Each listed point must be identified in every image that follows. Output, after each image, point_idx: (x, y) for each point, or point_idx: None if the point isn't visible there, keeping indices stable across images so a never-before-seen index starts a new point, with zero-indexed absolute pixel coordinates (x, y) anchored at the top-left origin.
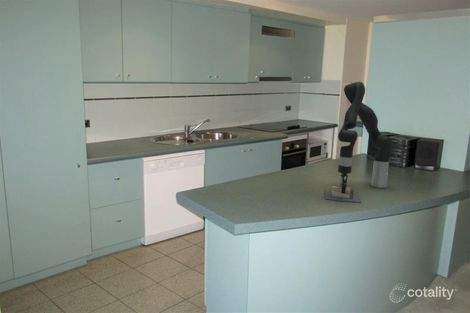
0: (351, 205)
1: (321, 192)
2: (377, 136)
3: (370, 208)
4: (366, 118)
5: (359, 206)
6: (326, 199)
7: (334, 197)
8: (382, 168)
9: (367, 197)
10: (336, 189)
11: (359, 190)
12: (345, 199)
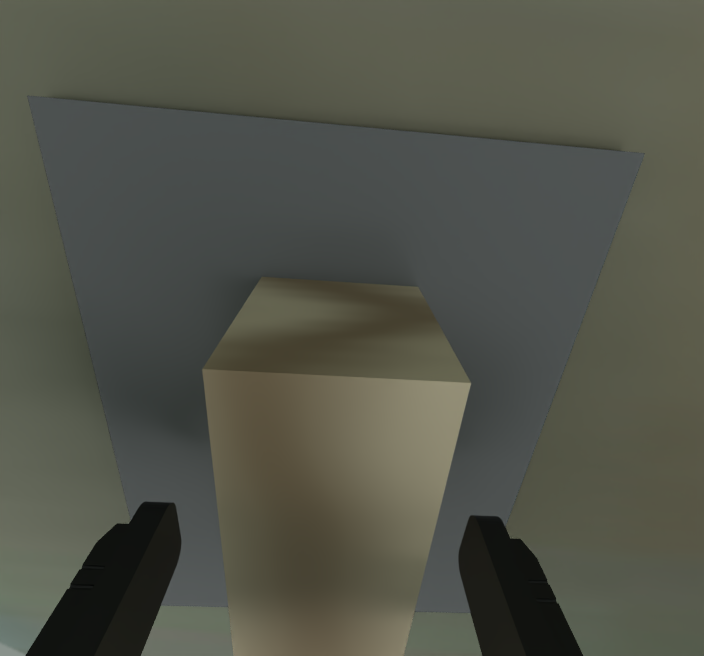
0: (6, 496)
1: (641, 70)
2: None
3: (21, 632)
4: None
5: (24, 563)
6: (48, 134)
7: (222, 319)
8: None
9: (409, 647)
10: (218, 453)
11: (672, 618)
12: (175, 468)
